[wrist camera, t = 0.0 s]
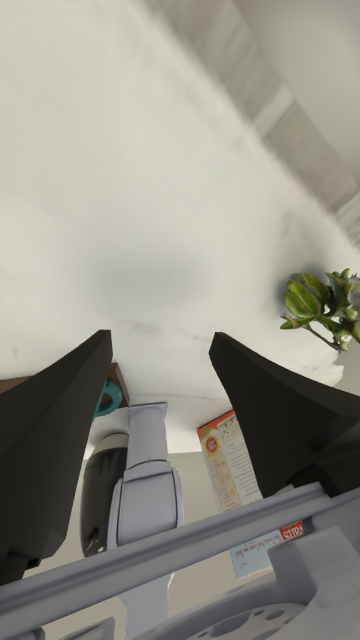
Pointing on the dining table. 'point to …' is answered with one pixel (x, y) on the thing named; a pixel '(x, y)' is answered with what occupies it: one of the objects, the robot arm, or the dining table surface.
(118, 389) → the ring
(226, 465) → the cracker box
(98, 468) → the pump dispenser
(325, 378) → the dining table surface
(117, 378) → the peg rack
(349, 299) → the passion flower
